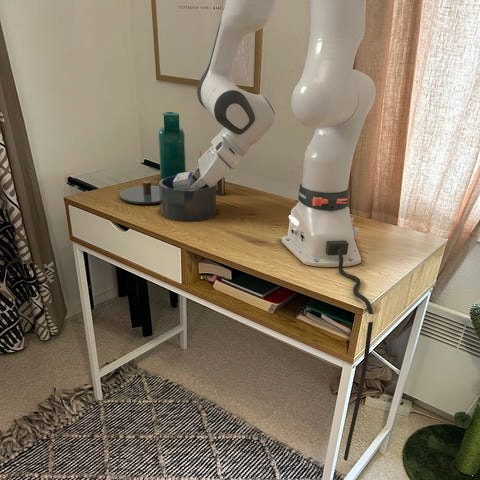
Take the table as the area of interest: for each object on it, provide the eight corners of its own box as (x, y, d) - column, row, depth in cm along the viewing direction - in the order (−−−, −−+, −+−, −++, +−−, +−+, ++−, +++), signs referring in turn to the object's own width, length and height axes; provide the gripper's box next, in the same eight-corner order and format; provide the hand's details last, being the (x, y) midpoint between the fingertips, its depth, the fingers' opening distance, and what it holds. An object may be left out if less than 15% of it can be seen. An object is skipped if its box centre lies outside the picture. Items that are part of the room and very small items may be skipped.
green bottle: (160, 177, 170) (156, 109, 158) (184, 177, 171) (182, 109, 160) (161, 185, 161) (157, 114, 150) (186, 184, 163) (185, 114, 151)
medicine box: (194, 209, 135) (188, 178, 131) (179, 211, 136) (172, 180, 131) (197, 200, 142) (191, 170, 137) (182, 202, 142) (176, 173, 138)
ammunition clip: (225, 194, 155) (225, 155, 149) (221, 195, 154) (221, 156, 148) (200, 187, 161) (200, 149, 155) (196, 188, 160) (196, 150, 153)
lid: (175, 205, 144) (174, 190, 142) (117, 206, 142) (116, 190, 139) (174, 189, 158) (173, 174, 156) (122, 189, 156) (120, 174, 154)
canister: (218, 221, 134) (218, 190, 130) (160, 221, 132) (158, 190, 128) (213, 202, 147) (213, 174, 143) (161, 203, 145) (159, 174, 141)
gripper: (215, 133, 139) (182, 168, 143) (221, 148, 122) (184, 187, 126) (230, 149, 142) (197, 183, 146) (239, 166, 125) (201, 204, 129)
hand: (191, 185), depth 136 cm, fingers closed on medicine box, 8 cm apart
